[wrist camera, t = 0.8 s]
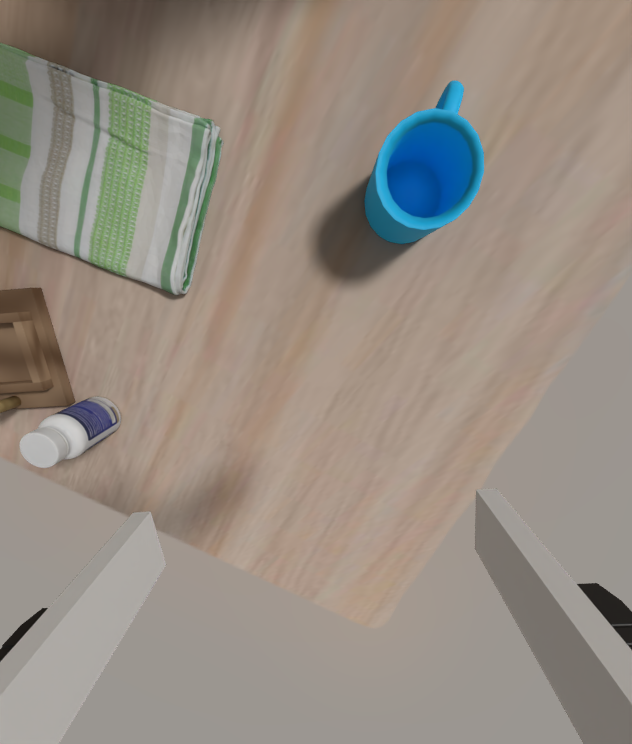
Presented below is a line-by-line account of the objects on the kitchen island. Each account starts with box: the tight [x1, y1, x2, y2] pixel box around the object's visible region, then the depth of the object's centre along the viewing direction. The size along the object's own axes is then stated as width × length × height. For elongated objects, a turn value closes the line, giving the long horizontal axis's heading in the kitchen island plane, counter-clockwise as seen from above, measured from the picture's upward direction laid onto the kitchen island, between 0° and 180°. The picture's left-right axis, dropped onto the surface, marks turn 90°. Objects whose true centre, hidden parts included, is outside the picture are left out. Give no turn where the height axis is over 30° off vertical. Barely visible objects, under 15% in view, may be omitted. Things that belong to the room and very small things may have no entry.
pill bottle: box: [20, 397, 121, 468], centre depth 35 cm, size 5×5×9 cm
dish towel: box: [0, 43, 224, 295], centre depth 31 cm, size 17×23×4 cm
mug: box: [364, 81, 484, 244], centre depth 27 cm, size 12×8×8 cm
